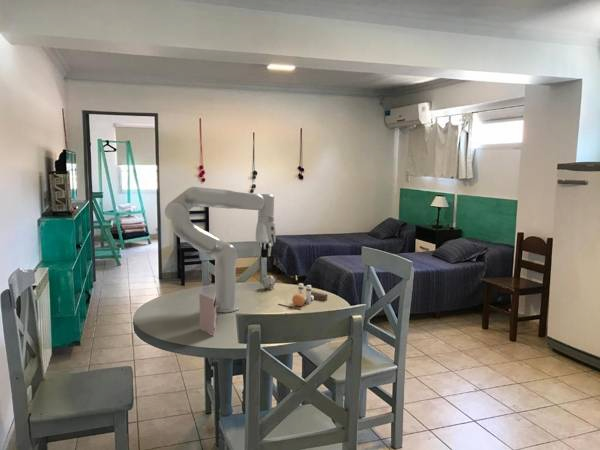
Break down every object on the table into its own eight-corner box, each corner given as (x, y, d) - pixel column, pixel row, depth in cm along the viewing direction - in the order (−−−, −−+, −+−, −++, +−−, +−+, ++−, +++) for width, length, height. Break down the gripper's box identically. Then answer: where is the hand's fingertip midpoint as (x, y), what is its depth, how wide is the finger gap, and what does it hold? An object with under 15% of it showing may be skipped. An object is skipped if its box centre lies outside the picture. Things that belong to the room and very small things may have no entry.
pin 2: (308, 304, 237) (309, 286, 236) (304, 303, 239) (305, 285, 238) (311, 303, 239) (312, 285, 238) (308, 302, 240) (308, 284, 239)
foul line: (300, 310, 227) (300, 309, 227) (278, 304, 236) (278, 304, 236) (301, 309, 227) (301, 309, 227) (279, 304, 236) (279, 303, 236)
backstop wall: (324, 300, 243) (325, 295, 243) (306, 296, 251) (306, 291, 251) (327, 300, 245) (327, 294, 245) (309, 296, 252) (309, 290, 252)
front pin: (302, 299, 237) (314, 295, 243) (298, 298, 238) (310, 294, 245) (302, 304, 237) (314, 300, 244) (298, 303, 239) (310, 299, 245)
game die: (270, 296, 265) (273, 284, 259) (257, 290, 267) (259, 278, 260) (277, 285, 272) (280, 273, 265) (263, 279, 273) (266, 267, 267)
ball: (308, 301, 234) (300, 310, 233) (301, 294, 238) (293, 303, 237) (303, 296, 229) (295, 305, 229) (296, 289, 233) (287, 298, 233)
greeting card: (215, 336, 189) (215, 299, 188) (196, 336, 189) (196, 299, 187) (218, 327, 201) (218, 292, 199) (200, 327, 200) (200, 292, 198)
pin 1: (301, 302, 240) (301, 284, 239) (297, 301, 242) (297, 283, 241) (304, 301, 242) (304, 283, 241) (300, 300, 244) (300, 283, 243)
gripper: (282, 220, 230) (280, 258, 232) (261, 218, 240) (259, 254, 242) (270, 221, 224) (269, 260, 226) (249, 218, 235) (248, 255, 236)
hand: (264, 256), depth 234 cm, fingers closed
